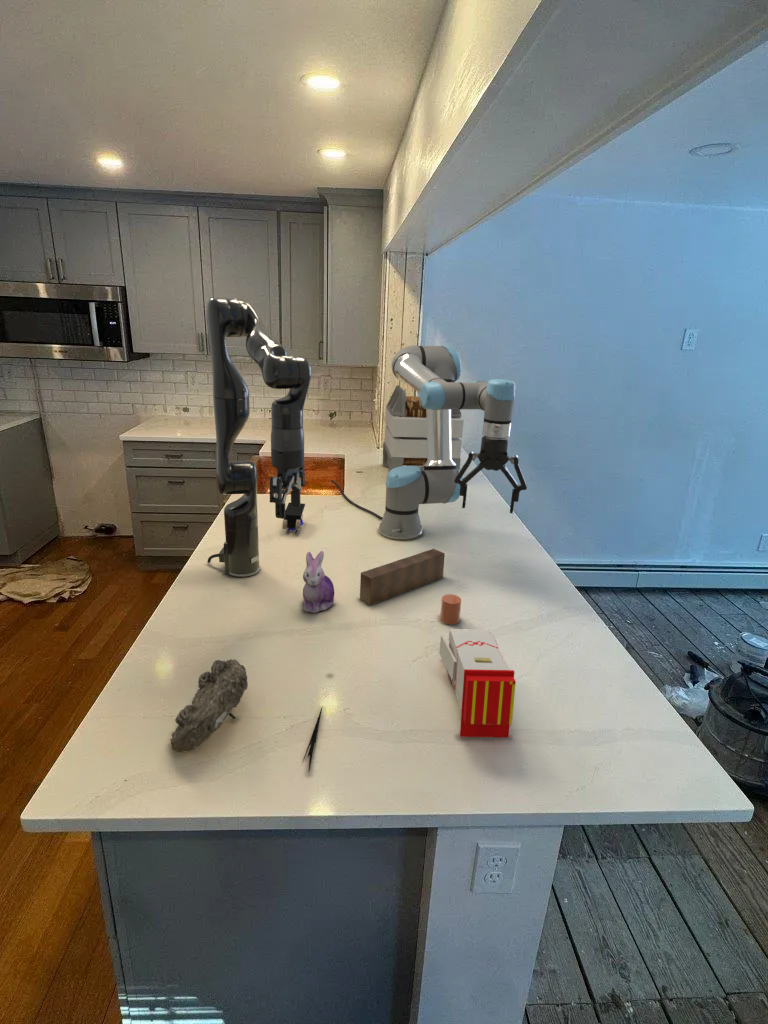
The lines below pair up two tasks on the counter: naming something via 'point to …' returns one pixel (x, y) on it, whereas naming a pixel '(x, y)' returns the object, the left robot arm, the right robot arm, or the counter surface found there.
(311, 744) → the feather
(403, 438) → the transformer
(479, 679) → the toy
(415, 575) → the bar
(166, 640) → the counter surface
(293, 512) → the figurine character
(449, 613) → the cylinder block
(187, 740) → the fossil
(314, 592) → the figurine
